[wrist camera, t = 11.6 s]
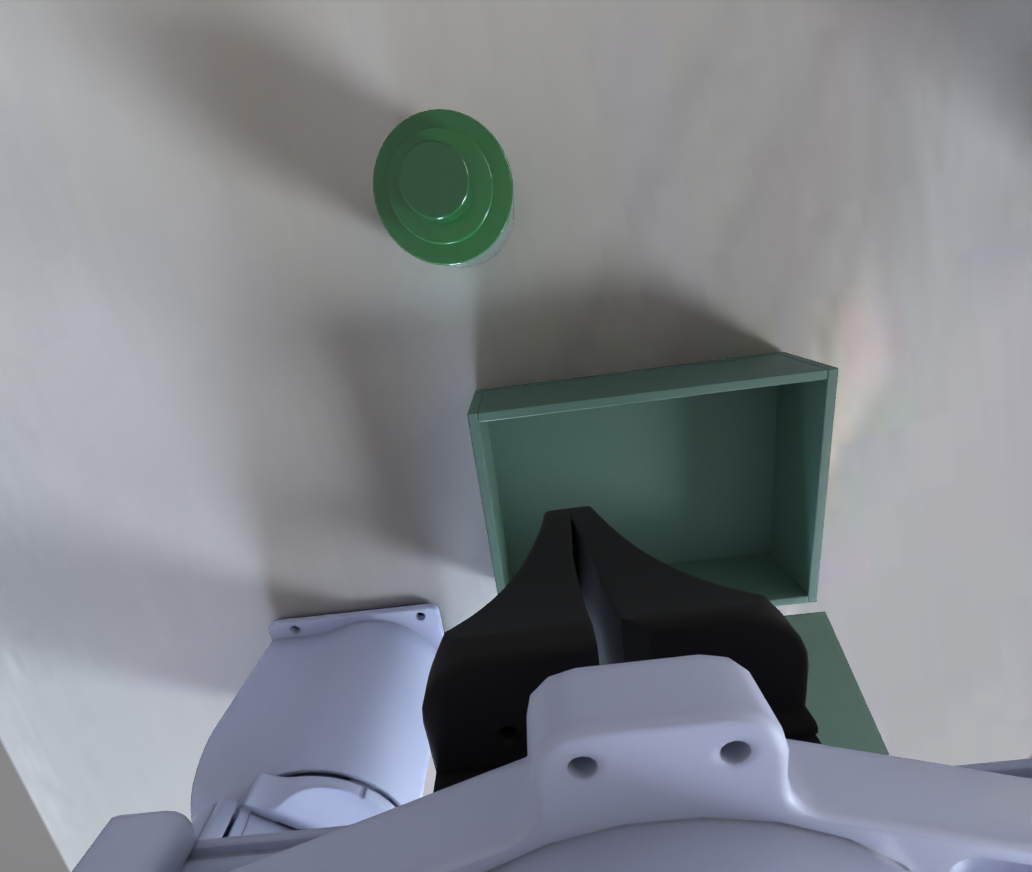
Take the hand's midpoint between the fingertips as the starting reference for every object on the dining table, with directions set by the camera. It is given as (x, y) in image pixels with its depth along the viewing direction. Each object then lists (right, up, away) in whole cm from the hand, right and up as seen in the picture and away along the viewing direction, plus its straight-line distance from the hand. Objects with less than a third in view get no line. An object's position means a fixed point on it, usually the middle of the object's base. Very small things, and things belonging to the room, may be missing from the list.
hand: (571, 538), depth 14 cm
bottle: (-4, +12, +6) cm, 14 cm away
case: (+4, +1, +10) cm, 11 cm away
